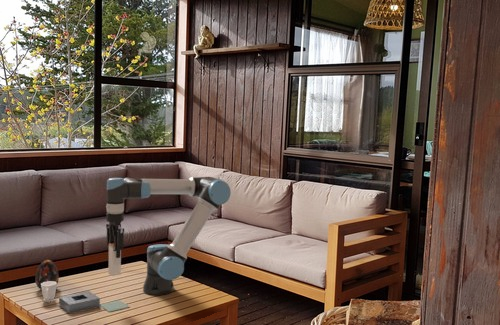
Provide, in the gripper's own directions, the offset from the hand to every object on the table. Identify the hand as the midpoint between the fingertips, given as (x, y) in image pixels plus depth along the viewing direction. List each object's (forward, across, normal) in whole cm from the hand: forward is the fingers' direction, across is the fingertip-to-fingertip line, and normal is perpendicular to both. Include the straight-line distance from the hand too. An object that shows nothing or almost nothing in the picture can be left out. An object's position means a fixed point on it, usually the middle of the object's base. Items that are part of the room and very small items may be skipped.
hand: (114, 263), depth 234 cm
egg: (+21, -40, -16) cm, 47 cm away
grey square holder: (+20, -10, -12) cm, 26 cm away
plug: (+5, 0, 0) cm, 5 cm away
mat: (+20, 0, 0) cm, 20 cm away
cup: (+21, -24, -22) cm, 38 cm away
